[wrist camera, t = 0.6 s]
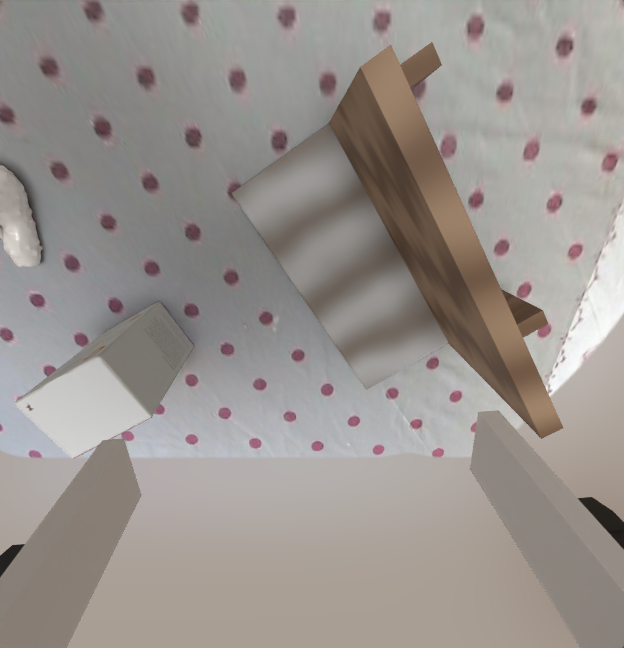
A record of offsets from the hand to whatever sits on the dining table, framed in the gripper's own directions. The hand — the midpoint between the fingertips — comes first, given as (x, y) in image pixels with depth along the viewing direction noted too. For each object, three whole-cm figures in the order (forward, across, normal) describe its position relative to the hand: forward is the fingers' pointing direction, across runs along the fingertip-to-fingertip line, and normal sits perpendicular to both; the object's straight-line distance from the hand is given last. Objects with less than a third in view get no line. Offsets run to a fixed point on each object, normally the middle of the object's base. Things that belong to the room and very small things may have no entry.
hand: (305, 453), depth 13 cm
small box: (+26, -17, -6) cm, 31 cm away
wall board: (+26, +8, +3) cm, 27 cm away
